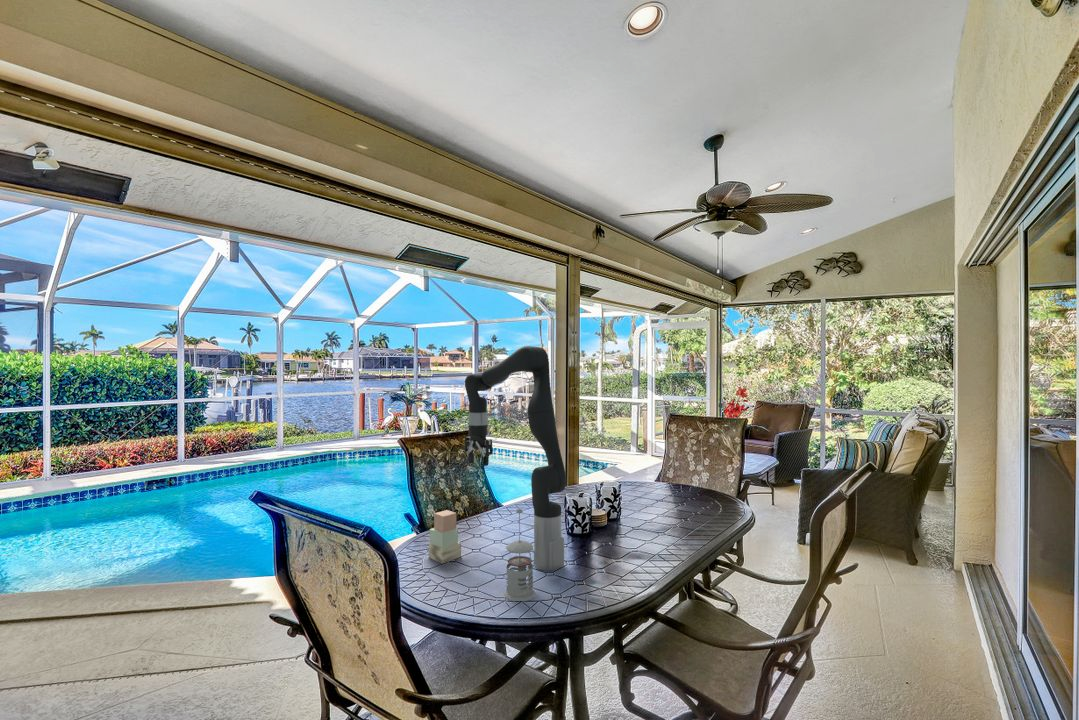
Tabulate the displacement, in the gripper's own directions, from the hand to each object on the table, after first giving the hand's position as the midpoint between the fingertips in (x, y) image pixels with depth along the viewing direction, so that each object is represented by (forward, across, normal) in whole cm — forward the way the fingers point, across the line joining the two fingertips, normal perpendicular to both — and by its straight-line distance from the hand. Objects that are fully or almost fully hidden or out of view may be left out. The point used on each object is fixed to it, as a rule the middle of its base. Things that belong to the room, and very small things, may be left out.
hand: (478, 464), depth 194 cm
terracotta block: (+18, -8, +22) cm, 30 cm away
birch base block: (+28, -8, +22) cm, 37 cm away
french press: (+28, -47, +24) cm, 60 cm away
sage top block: (+23, -7, +22) cm, 33 cm away
